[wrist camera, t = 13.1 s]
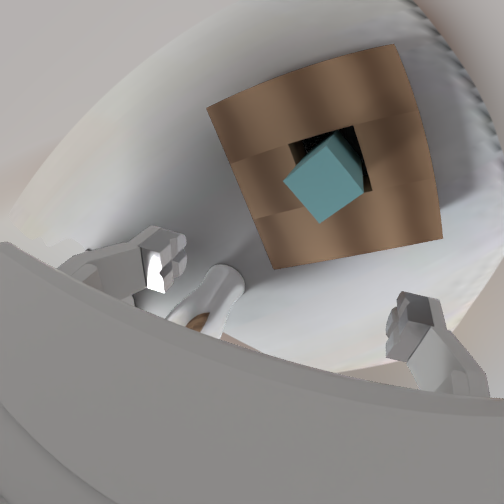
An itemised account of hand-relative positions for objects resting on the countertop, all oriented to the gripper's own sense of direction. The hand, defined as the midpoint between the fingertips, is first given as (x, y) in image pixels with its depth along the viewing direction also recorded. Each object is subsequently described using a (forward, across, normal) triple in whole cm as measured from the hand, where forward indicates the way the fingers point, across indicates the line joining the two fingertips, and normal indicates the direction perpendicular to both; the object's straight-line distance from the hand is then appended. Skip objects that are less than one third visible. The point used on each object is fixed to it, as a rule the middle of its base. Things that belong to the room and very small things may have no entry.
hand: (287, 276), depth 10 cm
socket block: (+23, 0, 0) cm, 23 cm away
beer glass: (+23, +11, +21) cm, 33 cm away
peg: (+23, 0, 0) cm, 23 cm away
